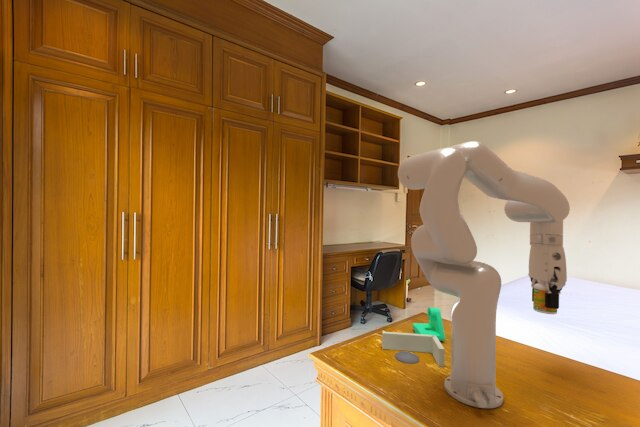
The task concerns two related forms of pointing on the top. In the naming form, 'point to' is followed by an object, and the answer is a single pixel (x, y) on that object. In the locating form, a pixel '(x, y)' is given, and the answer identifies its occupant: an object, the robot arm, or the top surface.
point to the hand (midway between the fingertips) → (544, 304)
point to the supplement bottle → (541, 298)
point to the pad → (407, 357)
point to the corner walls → (414, 344)
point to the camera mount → (431, 324)
